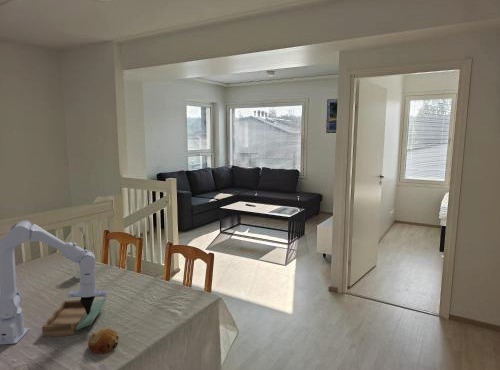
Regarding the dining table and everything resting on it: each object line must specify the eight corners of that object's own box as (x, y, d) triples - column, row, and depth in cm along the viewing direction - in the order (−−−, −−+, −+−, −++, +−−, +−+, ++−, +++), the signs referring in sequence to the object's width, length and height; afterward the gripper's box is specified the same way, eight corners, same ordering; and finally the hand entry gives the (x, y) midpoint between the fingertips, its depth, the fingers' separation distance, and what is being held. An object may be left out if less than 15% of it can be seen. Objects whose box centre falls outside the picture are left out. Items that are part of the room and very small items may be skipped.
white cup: (73, 274, 185) (72, 256, 184) (90, 272, 189) (88, 254, 187) (73, 280, 178) (71, 262, 177) (90, 277, 182) (88, 259, 180)
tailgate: (77, 331, 132) (92, 325, 132) (75, 327, 132) (90, 321, 132) (93, 306, 150) (106, 301, 151) (92, 303, 150) (105, 298, 150)
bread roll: (113, 344, 131) (107, 324, 132) (126, 343, 125) (119, 322, 126) (87, 358, 124) (81, 336, 125) (99, 357, 117) (92, 334, 118)
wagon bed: (73, 334, 131) (72, 325, 131) (43, 336, 130) (41, 327, 130) (91, 307, 151) (90, 299, 150) (65, 309, 150) (64, 300, 149)
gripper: (109, 277, 144) (110, 307, 146) (72, 277, 142) (74, 308, 144) (104, 284, 137) (105, 316, 139) (65, 285, 135) (67, 317, 137)
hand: (88, 313), depth 141 cm, fingers closed, pressing on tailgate
